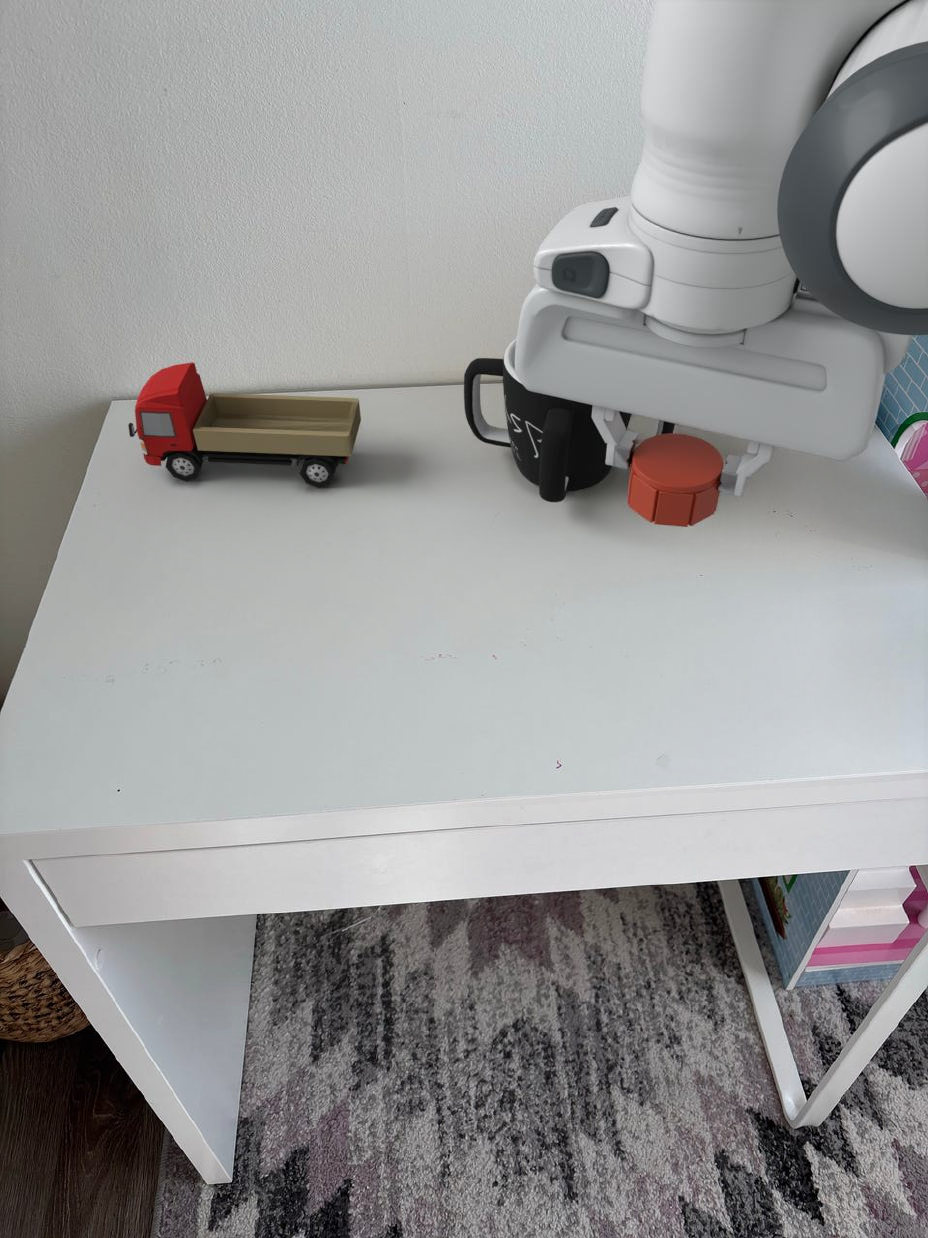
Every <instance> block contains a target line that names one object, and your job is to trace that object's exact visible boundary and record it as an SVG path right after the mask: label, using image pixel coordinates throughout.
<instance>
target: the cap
mask: <svg viewBox="0 0 928 1238" xmlns="http://www.w3.org/2000/svg"><path fill="white" fill-rule="evenodd" d="M636 446H637V447H636V449H635V451H634V453H633V455H632V463H631V467H630V469H629V470H630V472H629V479H628V487H627V488H628V490H627V505H628V507H629V509H631V510H633V511H634V512H635V513H637V514H638V515H639V516H640V517H642V518H643V519H644V520H646V521H647V522H648V523H650V524H652V523H654V525H658V526H669V527H672V526H673V527H682V528H688V527H689V526H690V527H693V526H694V525H696V524H698V523H700V522H702V521H704V520H705V519H707V518H709V517H711V516H713V515H715V512H716V511H717V508H718V503H719V498H720V493H721V492H719V491H718V487H719V484H720V477H721V473H722V470H723V467H724V465H725V463H724V459H723V456H722V454H721V453H720V451H719V450H718V448H716V447H715V446H714V445H713V444H712V443H710V442H708V441H707V440H704V439H702V438H701V437H697V436H694V435H691V434H684V433H674V432H673V433H669V434H660V435H656V434H655V435H652V436H650V437H647V438H645V439H643V440H642V441H641V442H640V443H639V444H637V445H636Z"/></svg>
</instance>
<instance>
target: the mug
mask: <svg viewBox="0 0 928 1238" xmlns="http://www.w3.org/2000/svg"><path fill="white" fill-rule="evenodd" d="M515 348H516V338H514V339H513V340H512V341H511V342H510V343H509V344H508V346H507V347H506V349H505V351H504V353H503V358H494V357H477V358H475V359H473V360H472V361H470V363H469V364H468V365H467V367H466V369H465V372H464V375H463V405H464V414H465V418H466V421H467V425H468V426H469V428H470V430H471V432H472V434H473V435H474V436H475V437H476V439H478V440H479V441H480V442H482V443H485V444H488V445H493V446H499V447H503V448H508V449H509V448H510V449H511V453H512V455H513V456H512V457H513V459H514V462H515V464H516V467H517V469H518V470H519V472H520V473H521V475H522V476H523V477H524V478H525V479H526V480H527V481H529V482H530V483H532V484H534V485H535V486H538V491H539V492H538V493H539V496H540V498H541V499H542V500H544V501H545V502H549V503H560V502H562V501H564V500H565V499H566V497H567V493H568V492H578V491H584V490H587V489H590V488H593V487H595V486H596V485H598V484H600V483H601V482H603V481H604V480H605V478H607V476H608V475H609V474H610V472H611V471H612V469H613V467H614V466H611V465H606V463H605V462H606V452H607V443H605V441H604V440H603V438H602V436H601V434H600V432H599V430H598V429H597V427H596V425H595V423H594V421H593V419H592V406H593V405H590V404H586V403H581V402H577V401H573V400H568V399H564V398H559V397H555V396H550V395H546V394H541V393H536V392H532V391H529V390H527V389H526V388H525V387H524V385H523V384H522V382H521V381H520V380H519V378H518V376H517V375H516V373H515ZM482 375H483V376H484V375H485V376H493V377H501V378H502V388H503V389H502V390H503V403H504V413H505V419H506V426H507V428H504V427H498V426H494V425H490V424H489V423H488V422H487V421H486V419H485V417H484V414H483V412H482V405H481V377H482ZM619 413H620V416H621V418H622V421H623V423H624V425H625V428H626V430H627V431H628V427H629V425H630V422H631V418H632V415H633V414H630V413H626V412H621V411H619ZM675 426H676V424H674V423H670V422H666V421H661V420H658V424H657V428H656V433H655V436H656V435H660V434H669V433H674V431H675ZM637 446H638V445H636V447H637Z"/></svg>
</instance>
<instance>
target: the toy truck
mask: <svg viewBox="0 0 928 1238" xmlns="http://www.w3.org/2000/svg"><path fill="white" fill-rule="evenodd" d="M134 417H135V426H136V428H135V426H134V423H132V422H129V423H128V433H129V437H132V438H134V436H136V434H137V436H138V441H139V445H140V446H141V447H140V448H141V450H142V455H143V459H144V461H145V463H146V464H147V465H149V466H153V467H155V466H157V467H161V466H162V462H165V461H166V462H165V468H166V470H167V471H168V473H169V474H170V475H171V477H172V478H175V479H178V480H181V481H184V482H189V481H192V480H196V479H198V478H199V475H200V473H201V471H202V467H203V463H204V456H205V457H206V460H207V463H214V464H215V463H216V464H217V463H218V464H239V465H240V464H244V465H264V466H265V465H267V466H268V465H269V466H291V465H292V464H293V460H296V461H295V462H296V463H295V464H296V467H299V465H300V463H301V461H303V462H302V465H301V467H300V470H299V475H300V477H301V478H302V479H303V481H304V482H305V484H306V485H310V486H311V487H312V486H313V487H315V488H318V489H320V488H324V487H327V486H331V485H332V482H333V479H334V478H335V474H336V471H337V468H338V466H339V465H348V463H349V462H348V461H349V458H350V457H351V456H353V452H354V448H355V444H356V440H357V437H358V432H359V430H360V429H359V428H360V427H361V426H360V425H361V422H362V417H361V405H360V400H359V398H357V397H335V396H314V395H313V396H309V395H281V394H256V393H225V392H210V393H209V395H208V397H207V395H206V392H205V388H204V385H203V382H202V378H201V374H200V373H198V371H197V367H196V363H195V362H193V361H191V362H187V363H179V364H174V365H171V366H168V367H164V368H161V369H160V370H158V371H156V373H154V374H152V375H150V377H149V379H148V380H147V381H146V383H145V384H144V385H143V386H142V388H141V390H140V392H139V394H138V396H137V399H136V403H135V406H134Z"/></svg>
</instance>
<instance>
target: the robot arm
mask: <svg viewBox="0 0 928 1238" xmlns="http://www.w3.org/2000/svg"><path fill="white" fill-rule="evenodd" d="M646 38H647V39H646V46H645V54H644V61H643V71H642V79H641V86H640V87H641V88H640V99H639V101H640V102H639V105H640V114H641V119H642V124H643V132H644V133H643V150H642V154H641V159H640V162H639V165H638V167H637V170H636V172H635V174H634V177H633V180H632V184H631V189H630V195H627V196H626V195H625V196H621V197H620V196H619V197H614V198H609V199H603V200H597V201H590V202H585V203H582V204H579V205H576V207H574V208H573V209H572V210H571V211H570V212H568V213H567V214H566V215H565V216H563V217H562V218H561V220H560V221H559V222H558V223H556V225H555V226H554V227H553V228H552V229H551V230H550V232H549V233H548V234H547V236H546V237H545V238H544V240H543V241H542V243H541V244H540V246H539V248H538V249H537V252H536V253H535V255H534V259H533V265H532V266H533V269H532V270H533V277H534V281H535V285H534V286H533V288H532V289H531V290H530V291H529V293H528V294H527V295H526V297H525V299H524V301H523V303H522V306H521V310H520V313H519V319H518V325H517V332H516V338H515V339H516V348H515V373H516V375H517V376H518V378H519V380H520V381H521V382H522V384H523V385H524V387H525V388H526V389H527V390H529V391H532V392H536V393H541V394H546V395H550V396H555V397H559V398H564V399H568V400H573V401H577V402H581V403H586V404H590V405H593V406H592V419H593V421H594V423H595V425H596V427H597V429H598V430H599V432H600V434H601V436H602V438H603V440H604V441H605V443H607V452H606V462H605V463H606V465H611V466H613V467H614V468H618V469H623V470H628V471H629V470H630V469H631V463H632V455H633V453H634V451H635V449H636V446H637V445H638V443H639V432H635V431H631V430H628V429H627V430H626V428H625V425H624V423H623V421H622V418H621V416H620V413H619V411H621V412H626V413H630V414H632V415H635V416H640V417H644V418H648V419H653V420H658V421H659V420H661V421H666V422H670V423H674V424H675V425H679V426H684V427H687V428H688V427H689V428H693V429H697V430H702V431H705V432H710V433H714V434H720V435H724V436H728V437H732V438H738V439H740V440H741V439H742V440H746V441H748V445H747V450H746V453H744V454H743V455H742V456H740V455H734V454H728V455H727V457H726V460H725V463H724V465H723V470H722V473H721V477H720V484H719V487H718V491H719V492H720V493H723V494H726V495H730V496H735V497H738V498H743V496H744V493H745V491H746V488H747V485H748V482H749V479H750V477H751V476H752V475H753V474H755V472H757V471H758V470H759V469H760V468H762V467H763V466H765V464H767V463H768V462H769V461H770V460H771V459H772V457H773V455H774V451H775V449H776V447H777V448H782V449H786V450H791V451H794V452H799V453H803V454H807V455H812V456H816V457H822V458H825V459H829V460H830V459H831V460H834V461H839V462H848V461H850V460H852V459H854V458H856V457H857V456H859V455H861V454H863V453H864V452H866V450H867V449H868V448H869V444H870V441H871V438H872V434H873V431H874V428H875V424H876V421H877V417H878V413H879V409H880V404H881V400H882V395H883V392H884V391H883V390H884V385H885V381H886V375H887V374H888V373H890V372H892V371H894V370H895V369H896V368H897V367H898V366H900V365H901V363H903V361H904V360H905V358H906V356H907V353H908V351H909V348H910V344H911V342H912V339H913V336H928V0H653V2H652V7H651V13H650V19H649V25H648V32H647V37H646Z"/></svg>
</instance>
